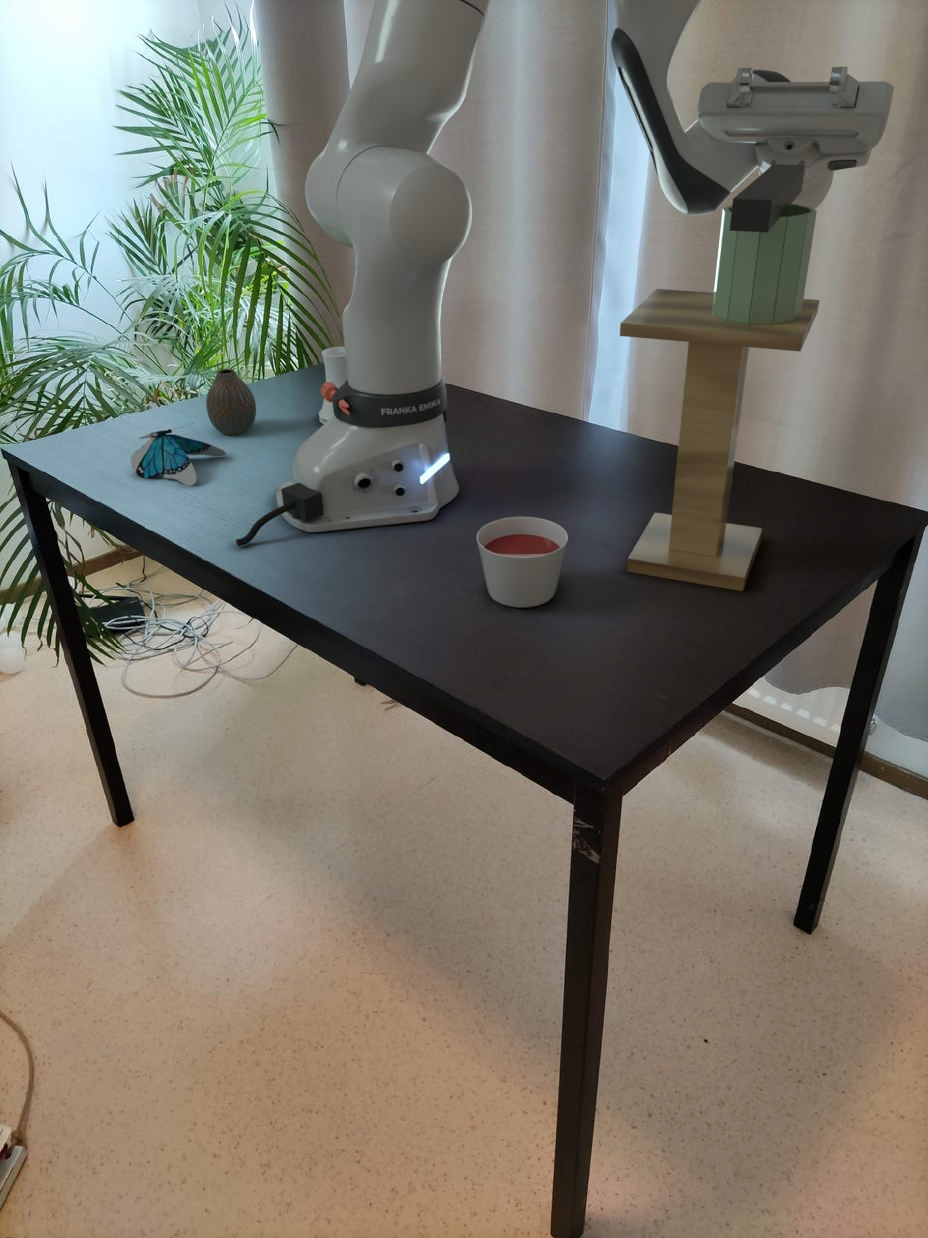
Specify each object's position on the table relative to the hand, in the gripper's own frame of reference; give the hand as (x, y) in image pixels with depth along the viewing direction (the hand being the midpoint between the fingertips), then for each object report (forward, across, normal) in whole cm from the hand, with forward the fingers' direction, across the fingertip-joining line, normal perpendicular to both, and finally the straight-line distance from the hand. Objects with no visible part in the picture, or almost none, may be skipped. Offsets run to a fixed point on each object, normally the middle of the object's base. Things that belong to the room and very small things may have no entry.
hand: (790, 73), depth 100 cm
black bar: (+16, +2, +20) cm, 26 cm away
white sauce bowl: (+10, -15, +57) cm, 60 cm away
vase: (-16, -70, +43) cm, 84 cm away
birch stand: (-2, 0, +50) cm, 50 cm away
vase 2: (-24, -58, +38) cm, 73 cm away
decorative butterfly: (-3, -70, +50) cm, 86 cm away
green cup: (+11, +2, +28) cm, 30 cm away
